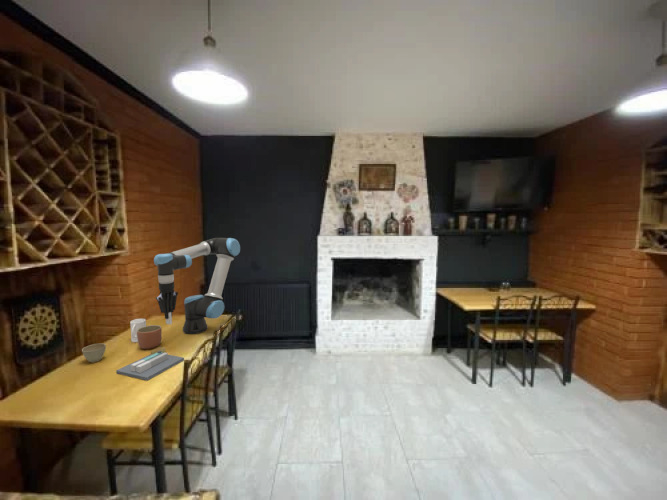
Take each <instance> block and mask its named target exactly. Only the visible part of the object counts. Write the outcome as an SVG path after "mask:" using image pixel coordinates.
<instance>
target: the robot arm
mask: <svg viewBox="0 0 667 500" xmlns="http://www.w3.org/2000/svg"><path fill="white" fill-rule="evenodd" d="M240 252H241V245H240V242H239V241H238V240H237V239H236V238H232V237H214V238H210V239H207V240H204V241H201V242H200V243H198V244H195V245H192V246H189V247H185V248H181V249H177V250H174V251H172V252H171V251H170V252H168V253H158V254H156V255H155V256H154V258H153V263H154V266H156V267H157V279H158V290H159V295H158V296H156V297H155V300H156V301H157V303H158V307H159V310H160V313H161V314H162V313H163V314H164V319H165V324H166V325H172V324H173V320H172V318H173V313H174V311H175V310H176V305H177V299H178V294H179V292H178V291H175V282H174V281H175V276H174V271H175V270H181V269H187V268H190V267H191V266H192V264H193V259H195V258H197V257H201V256H209V255H216V256H215V257H217V260H216V263H215V266H214V269H213V270H214V271H213V274H212V277H211V280H210V284H209V287H208V291H207V293H205V294H204V295H203V294H196V295H190V296H187V297H186V298H185V299H184V303H183V306H184V319H185V320H184V324H183V327H182V332H183V333H184V334H187V335H196V334H197V335H198V334H201V333H204V332H206V331H207V330H208V327H209V326H208V323H207V321H206V318H207V319H218V318H219V317H220V316H221V315H222V314H223V313H224V311H225V303H224V301H223V299H224V298H223V297H222V294H223V290H224V287H225V283H226V279H227V277H228V272H229V269H230V265H231V262H232V261H234V260H235V257H236V256H238V255H239V254H240Z"/></svg>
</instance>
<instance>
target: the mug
mask: <svg viewBox="0 0 667 500" xmlns="http://www.w3.org/2000/svg"><path fill="white" fill-rule="evenodd" d="M144 326H147V321H146V318H135V319H133V320H131V321H130V335H131V336H130V337H131V341H130V342H131V343H138V339H137V330H138V329H139V328H141V327H144Z"/></svg>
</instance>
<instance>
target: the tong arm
mask: <svg viewBox="0 0 667 500" xmlns="http://www.w3.org/2000/svg"><path fill="white" fill-rule="evenodd" d="M162 353H163V352H161V353H155V354H153V355H151V356H149V357H147V358H144V357H143V358H144V359H142V358H141V359H142V360H140V359H139V360H140V361H138V362H136V363H134V364H132V365H131V371H134V372H135V371H137V370H136V366H138V365H140V364H142V363H144V362H146V361H148V360H150V359H152V358H154V357H156V356H158V355H160V354H162Z"/></svg>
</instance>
